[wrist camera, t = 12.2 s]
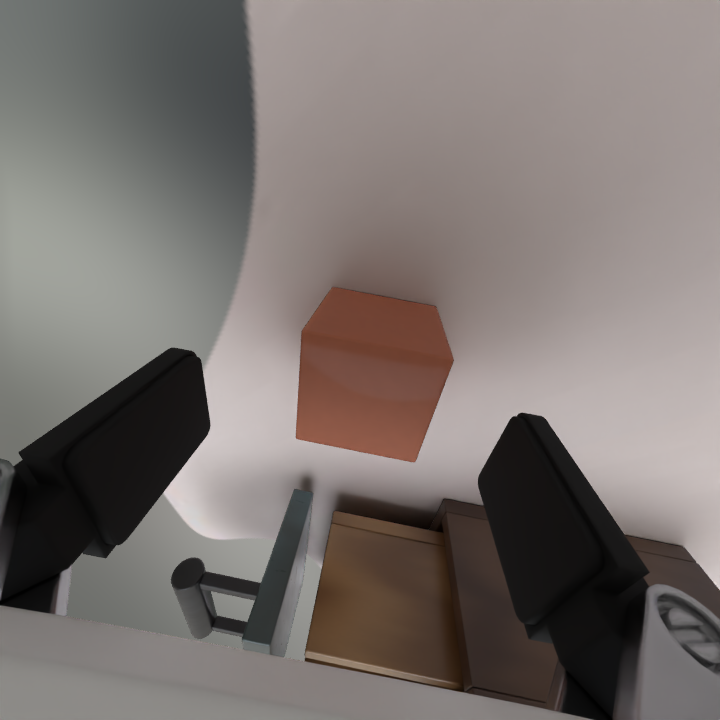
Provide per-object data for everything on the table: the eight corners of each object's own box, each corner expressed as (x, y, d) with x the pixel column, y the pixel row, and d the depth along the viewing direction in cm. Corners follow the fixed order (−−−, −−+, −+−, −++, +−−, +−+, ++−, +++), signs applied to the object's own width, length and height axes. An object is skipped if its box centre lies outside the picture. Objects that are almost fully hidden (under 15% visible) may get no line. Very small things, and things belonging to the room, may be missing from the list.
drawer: (229, 564, 24) (172, 689, 18) (214, 471, 18) (121, 614, 12) (454, 611, 23) (474, 755, 17) (517, 533, 17) (579, 712, 11)
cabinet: (397, 589, 24) (397, 767, 17) (444, 497, 18) (477, 723, 10) (572, 625, 24) (652, 824, 17) (684, 546, 18) (902, 816, 10)
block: (331, 286, 12) (301, 329, 8) (437, 306, 12) (455, 359, 8) (322, 373, 14) (295, 439, 10) (410, 390, 14) (415, 463, 10)
